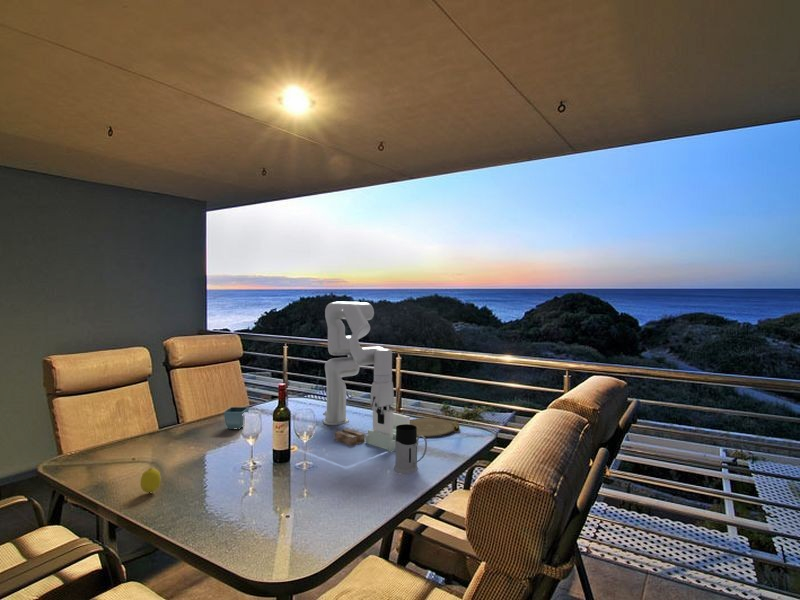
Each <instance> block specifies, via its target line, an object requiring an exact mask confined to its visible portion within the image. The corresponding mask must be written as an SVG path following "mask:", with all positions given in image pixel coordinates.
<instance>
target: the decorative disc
mask: <svg viewBox="0 0 800 600" xmlns="http://www.w3.org/2000/svg"><path fill="white" fill-rule="evenodd" d="M410 425H414V426H416V427H417V438H418V436H420V435H422V436H424V437H425V438H436V437H441V436H445V435H449V434H451V433H453V432H454V433H460V424H459V423H458V421H454V422H453V421H451V420H448V419H443V418H437V417H436V418H435V417H423V418H413V419H410Z"/></svg>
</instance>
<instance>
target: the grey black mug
mask: <svg viewBox="0 0 800 600" xmlns="http://www.w3.org/2000/svg"><path fill="white" fill-rule="evenodd" d="M420 438H423V440H424V443H425V444H424V452H423V453H422V456H421V457H420V458H419V459H418V446H419V440H420ZM426 438H427V437H424V436H422V435H420V436H418V437H417V427H416V426H414V425H409V424H403V425H398V426H396V440H395V450H394V451H395V453H394V457H395V462H394V463H395V464H394V468H393V470H394V471H395V472H397V473H400V474H405V475H406V474H414V473H416V472H418V471H419V468H418V462H420V461H421V460H422V459H423V458H424V457H425V455H426V454H427V453H426V452H427V449H428V440H427V439H426ZM417 470H418V471H417ZM413 472H414V473H413Z"/></svg>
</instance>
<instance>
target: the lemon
mask: <svg viewBox="0 0 800 600" xmlns="http://www.w3.org/2000/svg"><path fill="white" fill-rule="evenodd" d="M161 483H162V478H161V473H160V471H159V470H158V469H156V468H153V467H150V468H148V469H146V470H145V471H144V472H143V473H142V475H141V478H140V487H141V489H142V491H143V492H145V493H148V492H152V493H154V492H155V491H157V490H158V489H159V487H160V485H161Z"/></svg>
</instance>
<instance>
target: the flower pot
mask: <svg viewBox="0 0 800 600" xmlns="http://www.w3.org/2000/svg"><path fill="white" fill-rule="evenodd" d="M249 409H250V407H247V406H244V407H243V406H241V407H240V406H231V407H229V408H227V409H226V410H224V411H223V418H224V424H225V425H226V427H227V428H229V429H234V428H237V429H239V428H241V427H242V425H243V416H242V414H243V413H244V412H248V413H249V411H250V410H249ZM242 428H243V427H242ZM242 428H241V429H242ZM229 429H228V430H229Z"/></svg>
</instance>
